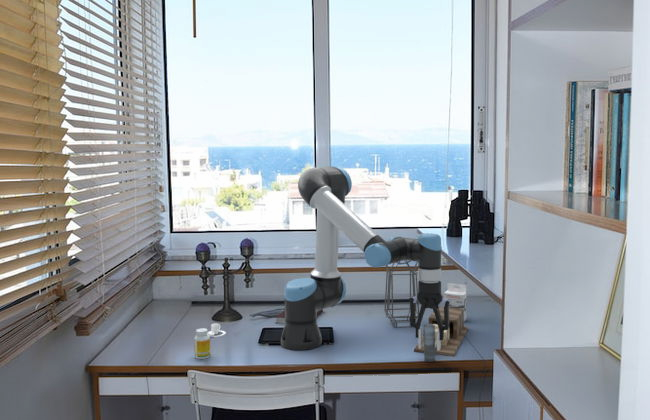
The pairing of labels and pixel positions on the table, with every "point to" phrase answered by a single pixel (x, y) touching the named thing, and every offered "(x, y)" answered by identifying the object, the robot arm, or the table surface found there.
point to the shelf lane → (455, 331)
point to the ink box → (457, 297)
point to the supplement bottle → (202, 344)
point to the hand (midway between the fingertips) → (429, 348)
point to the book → (282, 317)
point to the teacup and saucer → (215, 330)
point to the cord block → (432, 341)
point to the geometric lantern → (392, 293)
